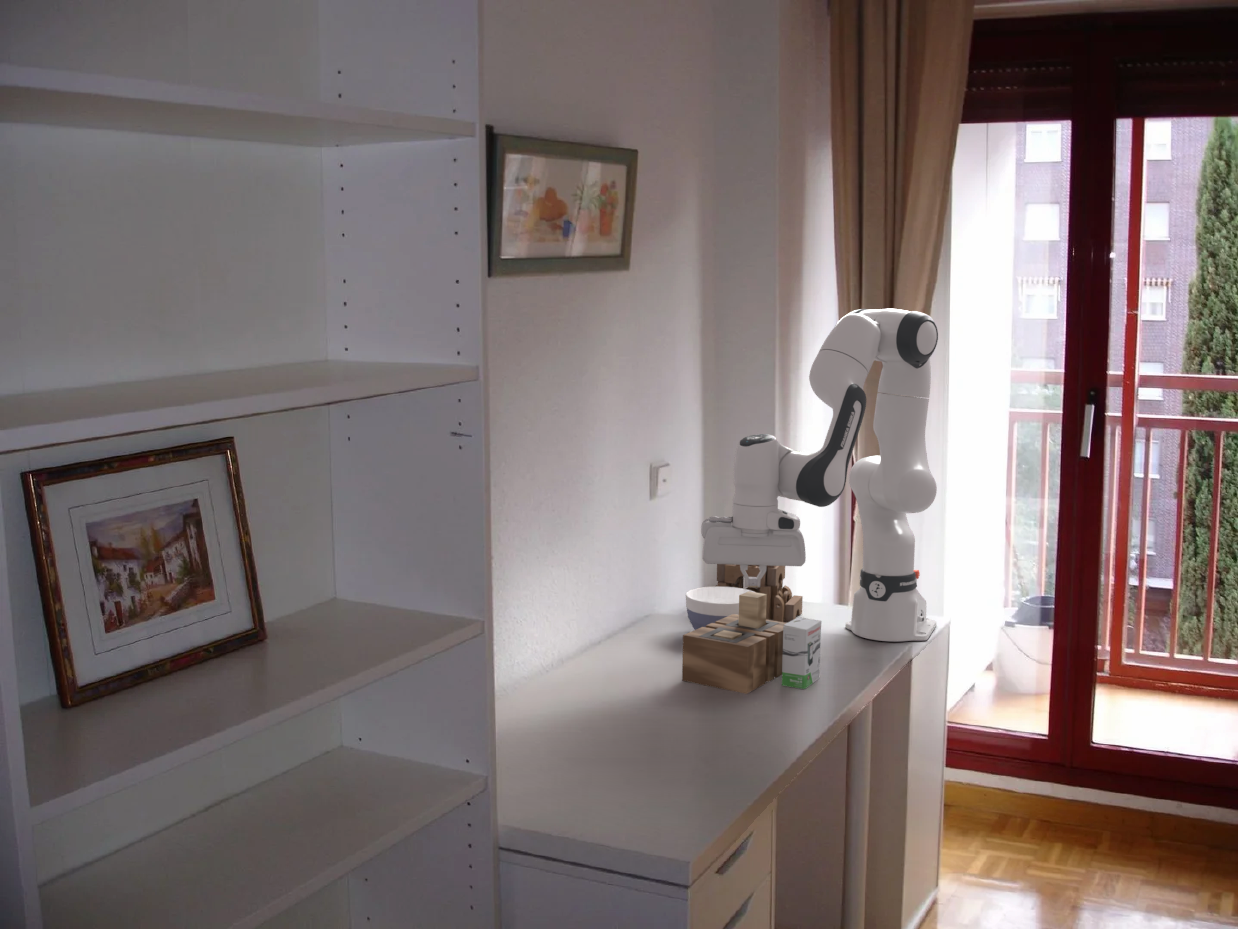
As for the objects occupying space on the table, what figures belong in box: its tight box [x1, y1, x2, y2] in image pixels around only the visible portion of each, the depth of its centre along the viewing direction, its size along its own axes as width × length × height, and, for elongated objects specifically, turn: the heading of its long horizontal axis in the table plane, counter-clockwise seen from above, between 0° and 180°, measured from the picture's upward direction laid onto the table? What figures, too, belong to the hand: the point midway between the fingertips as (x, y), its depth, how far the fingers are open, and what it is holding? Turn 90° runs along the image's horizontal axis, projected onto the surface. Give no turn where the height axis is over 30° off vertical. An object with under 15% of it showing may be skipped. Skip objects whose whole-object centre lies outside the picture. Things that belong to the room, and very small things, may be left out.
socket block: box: [681, 614, 787, 695], centre depth 239 cm, size 20×14×9 cm
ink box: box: [781, 616, 822, 690], centre depth 234 cm, size 9×5×12 cm, turn 151°
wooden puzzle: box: [714, 564, 804, 623], centre depth 286 cm, size 22×15×19 cm, turn 69°
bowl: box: [685, 586, 753, 630], centre depth 266 cm, size 16×16×10 cm
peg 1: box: [713, 630, 742, 640], centre depth 235 cm, size 4×4×9 cm
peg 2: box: [739, 592, 767, 629], centre depth 242 cm, size 4×4×9 cm
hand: (752, 586), depth 242 cm, fingers closed
